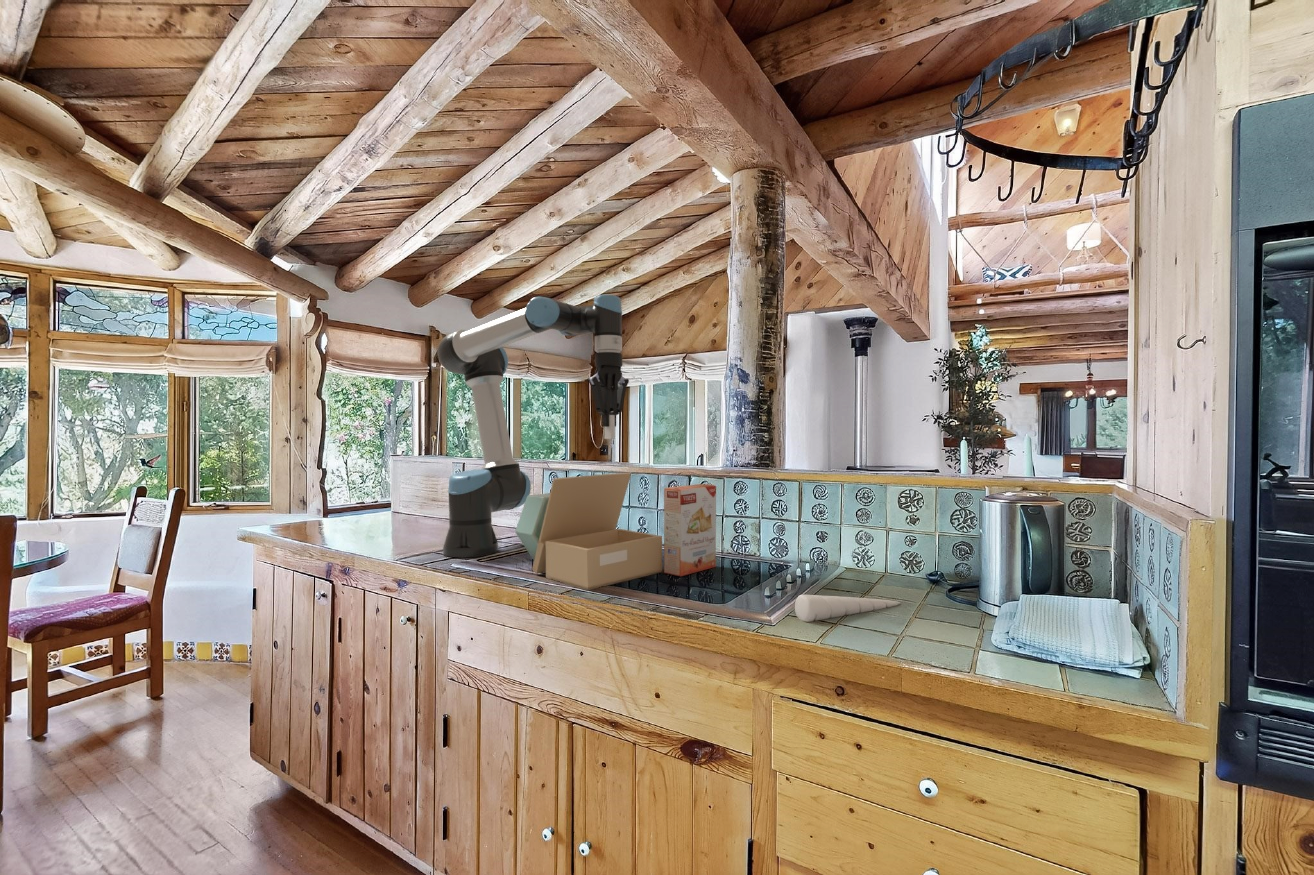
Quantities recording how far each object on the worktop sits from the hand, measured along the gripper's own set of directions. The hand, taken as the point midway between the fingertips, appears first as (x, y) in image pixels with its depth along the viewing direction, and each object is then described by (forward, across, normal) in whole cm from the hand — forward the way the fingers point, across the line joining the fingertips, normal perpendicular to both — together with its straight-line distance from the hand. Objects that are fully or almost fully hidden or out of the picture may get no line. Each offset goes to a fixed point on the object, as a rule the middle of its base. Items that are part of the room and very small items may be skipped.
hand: (609, 438), depth 165 cm
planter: (+33, -12, +10) cm, 36 cm away
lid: (+21, -14, -8) cm, 26 cm away
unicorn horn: (+33, -1, -71) cm, 78 cm away
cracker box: (+33, +3, -27) cm, 43 cm away
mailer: (+32, -14, -15) cm, 39 cm away
